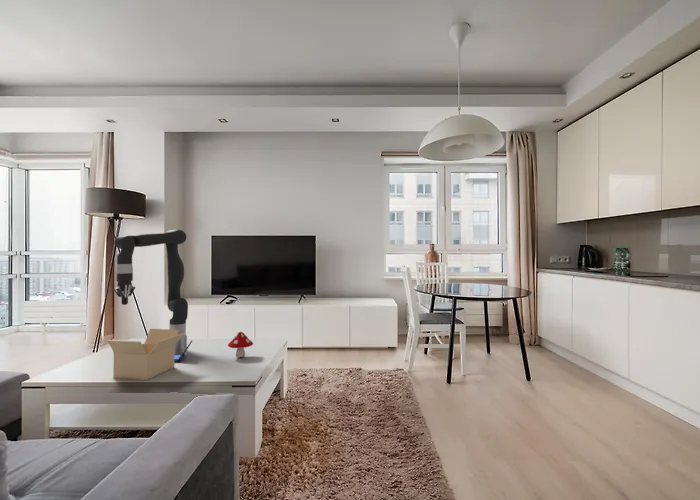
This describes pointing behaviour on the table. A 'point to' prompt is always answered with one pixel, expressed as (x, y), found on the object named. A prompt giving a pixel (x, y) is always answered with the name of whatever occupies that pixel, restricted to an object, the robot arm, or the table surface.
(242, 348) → the decorative mushroom
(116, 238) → the robot arm
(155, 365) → the carton
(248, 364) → the table surface
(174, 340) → the near flap
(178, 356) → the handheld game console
